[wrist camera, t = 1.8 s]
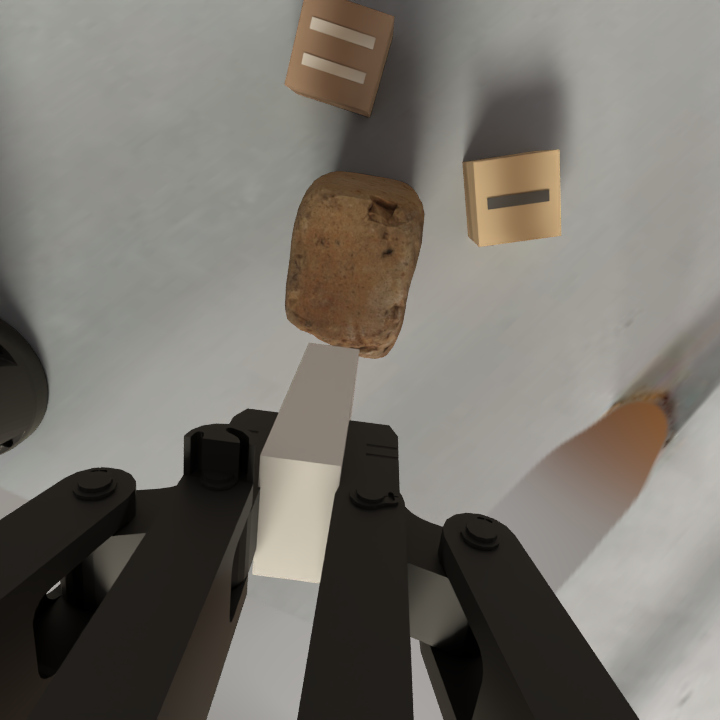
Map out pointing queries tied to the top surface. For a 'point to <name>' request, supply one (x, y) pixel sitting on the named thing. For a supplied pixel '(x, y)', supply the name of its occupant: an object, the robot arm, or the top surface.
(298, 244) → the block
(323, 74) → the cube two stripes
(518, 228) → the cube one stripe
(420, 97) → the top surface
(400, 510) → the robot arm
